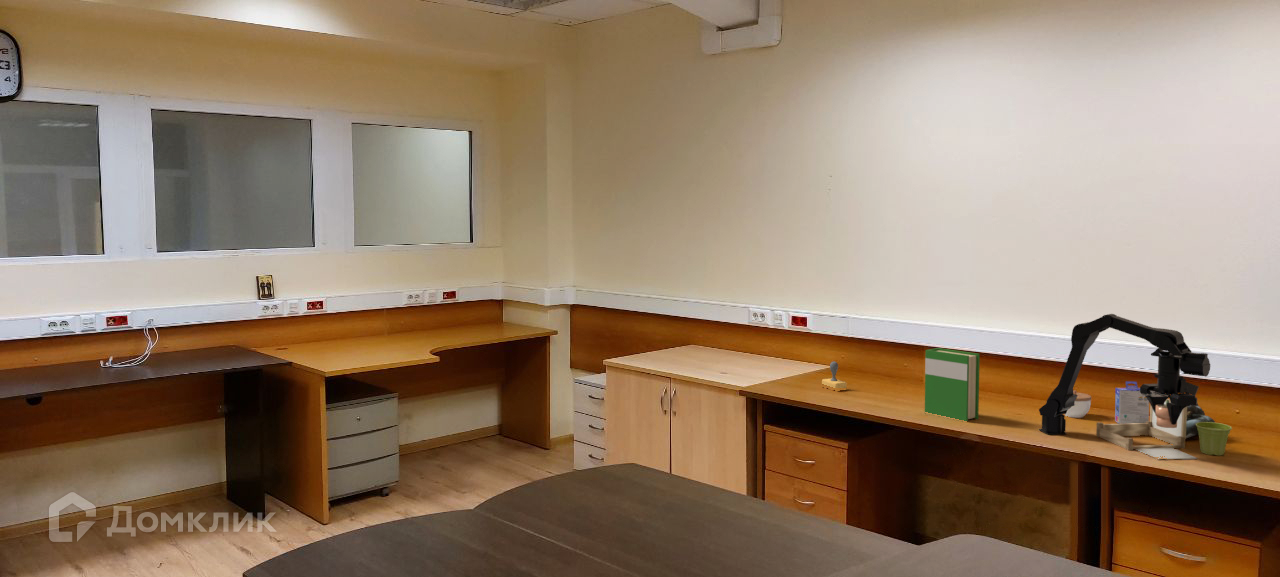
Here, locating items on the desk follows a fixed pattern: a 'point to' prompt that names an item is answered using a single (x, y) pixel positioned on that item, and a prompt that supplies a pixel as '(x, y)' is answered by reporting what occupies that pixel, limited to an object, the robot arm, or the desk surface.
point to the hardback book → (952, 383)
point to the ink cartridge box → (1131, 405)
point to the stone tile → (1166, 453)
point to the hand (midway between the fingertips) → (1166, 421)
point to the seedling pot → (1163, 416)
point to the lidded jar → (1079, 406)
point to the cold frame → (1136, 429)
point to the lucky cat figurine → (1195, 419)
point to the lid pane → (1177, 431)
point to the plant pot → (1213, 437)
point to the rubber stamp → (834, 378)
